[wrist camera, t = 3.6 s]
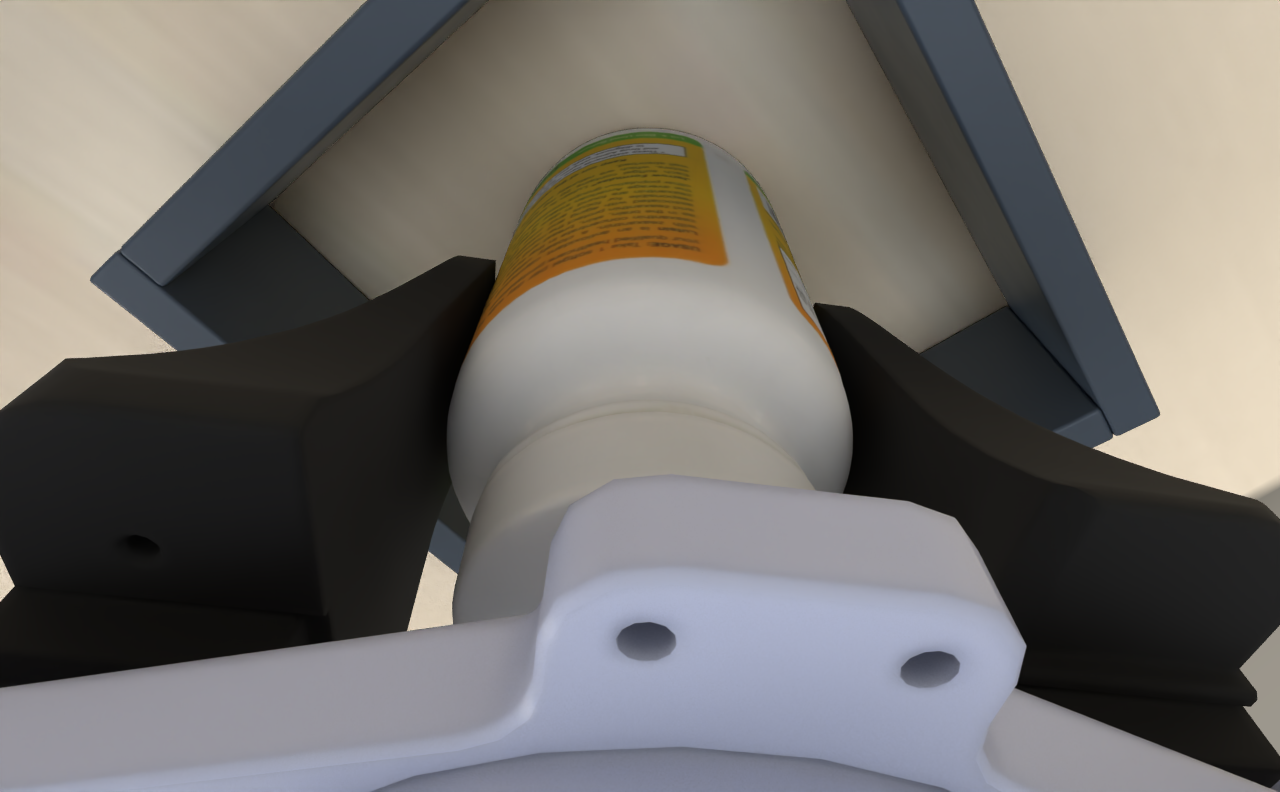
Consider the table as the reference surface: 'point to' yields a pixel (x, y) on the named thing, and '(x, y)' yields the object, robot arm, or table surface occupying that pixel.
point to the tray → (922, 80)
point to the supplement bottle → (634, 355)
